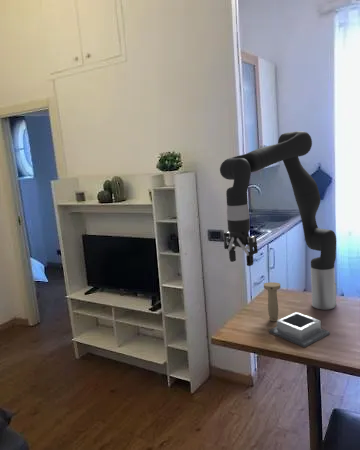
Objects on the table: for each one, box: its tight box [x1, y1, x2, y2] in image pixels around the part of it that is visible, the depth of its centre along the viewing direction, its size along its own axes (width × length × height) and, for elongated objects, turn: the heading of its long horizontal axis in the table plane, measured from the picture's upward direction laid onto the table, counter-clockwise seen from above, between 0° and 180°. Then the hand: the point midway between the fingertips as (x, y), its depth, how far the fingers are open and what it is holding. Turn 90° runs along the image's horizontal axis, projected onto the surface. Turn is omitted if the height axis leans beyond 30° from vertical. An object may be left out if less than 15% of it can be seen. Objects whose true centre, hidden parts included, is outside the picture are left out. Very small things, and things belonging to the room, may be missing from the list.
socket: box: [268, 311, 331, 348], centre depth 142 cm, size 14×16×5 cm
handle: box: [263, 281, 281, 322], centre depth 154 cm, size 5×6×15 cm
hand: (241, 263), depth 135 cm, fingers open, 8 cm apart
